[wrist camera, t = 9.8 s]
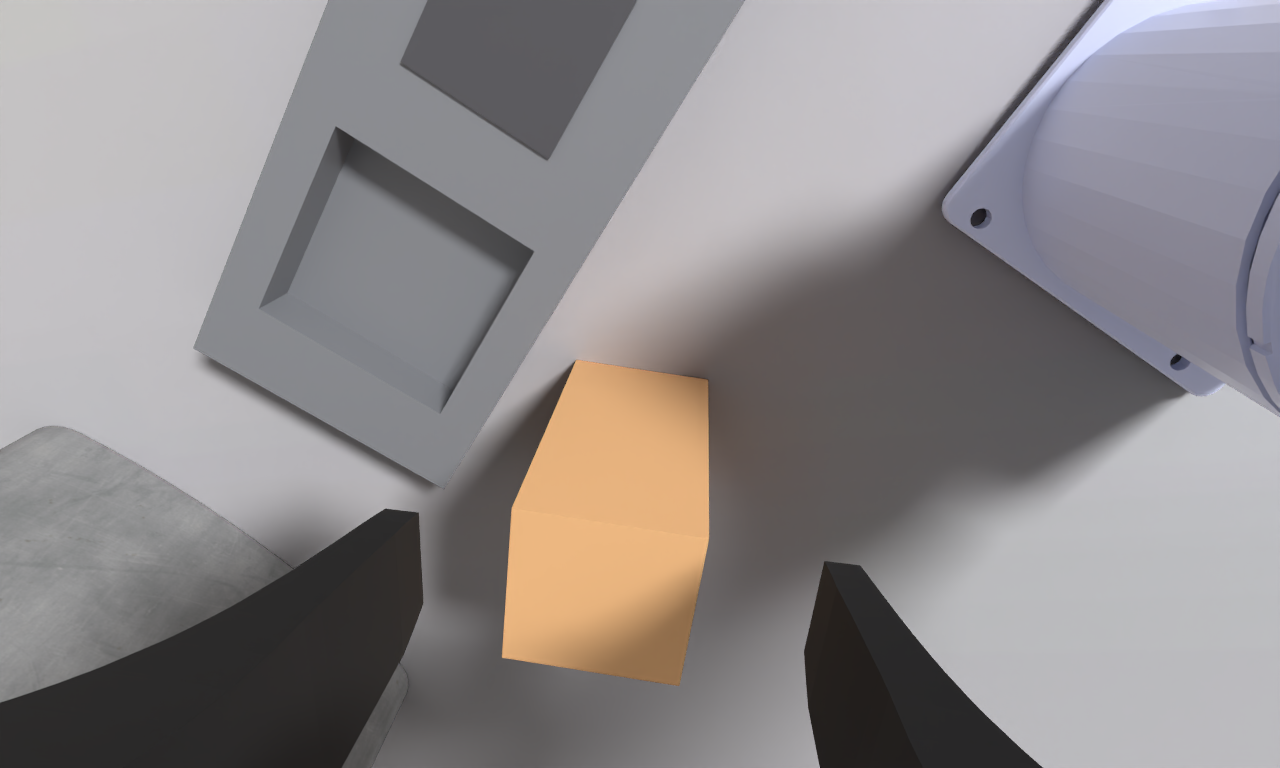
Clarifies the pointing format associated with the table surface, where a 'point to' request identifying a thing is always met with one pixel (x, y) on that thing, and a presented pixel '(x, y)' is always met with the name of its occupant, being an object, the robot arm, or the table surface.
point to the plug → (612, 527)
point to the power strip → (442, 202)
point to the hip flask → (118, 567)
